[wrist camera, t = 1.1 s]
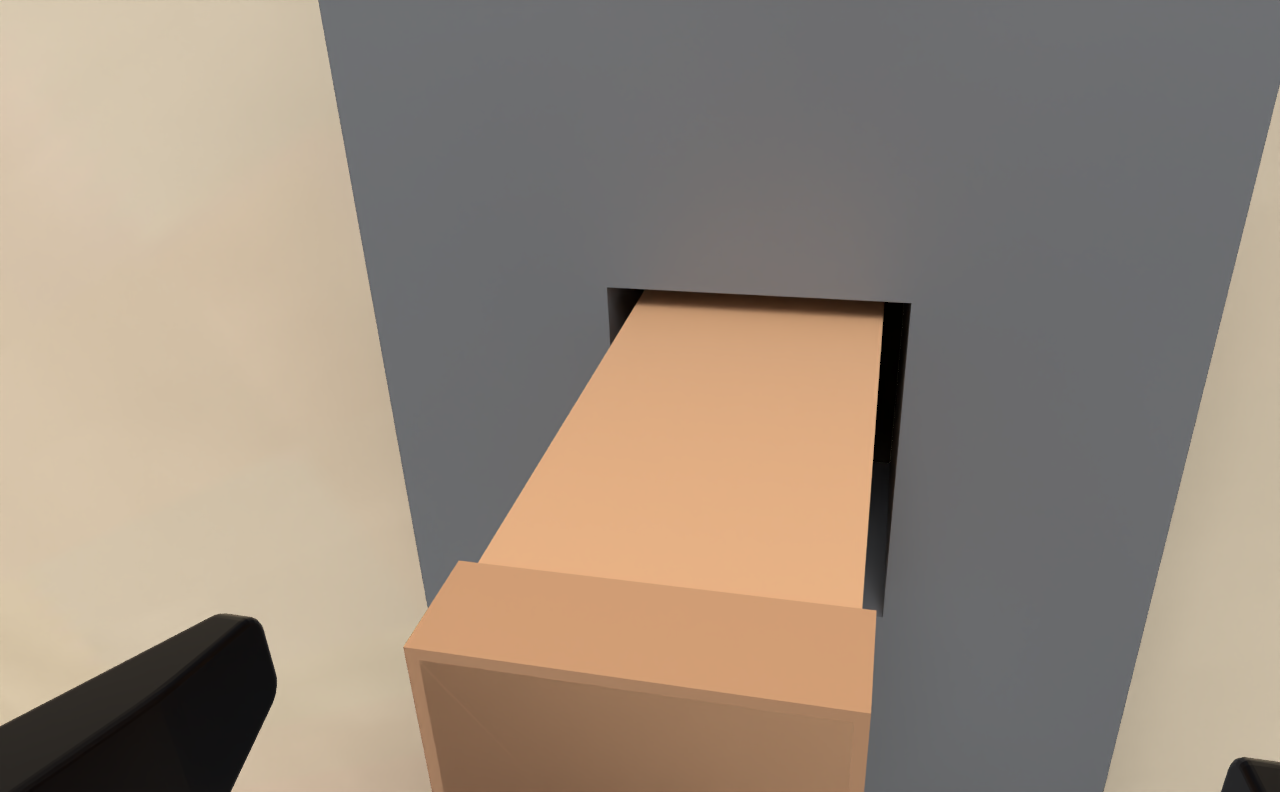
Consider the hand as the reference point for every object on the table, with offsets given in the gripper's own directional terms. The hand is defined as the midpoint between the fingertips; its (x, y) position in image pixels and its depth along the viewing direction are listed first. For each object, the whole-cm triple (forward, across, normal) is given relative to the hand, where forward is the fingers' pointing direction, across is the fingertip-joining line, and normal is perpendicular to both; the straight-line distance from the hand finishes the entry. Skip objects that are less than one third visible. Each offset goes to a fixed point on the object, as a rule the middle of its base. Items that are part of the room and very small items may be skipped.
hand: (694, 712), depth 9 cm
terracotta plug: (+8, 0, 0) cm, 8 cm away
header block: (+8, 0, +6) cm, 10 cm away
